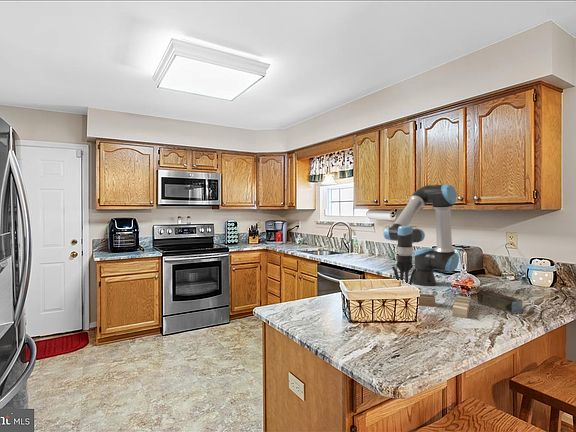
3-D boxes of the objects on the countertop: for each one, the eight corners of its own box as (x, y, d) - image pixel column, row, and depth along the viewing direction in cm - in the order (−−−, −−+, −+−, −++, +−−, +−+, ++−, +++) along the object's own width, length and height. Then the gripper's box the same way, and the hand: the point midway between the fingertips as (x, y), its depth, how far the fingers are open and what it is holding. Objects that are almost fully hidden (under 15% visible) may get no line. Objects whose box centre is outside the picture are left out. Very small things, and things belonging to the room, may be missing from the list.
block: (412, 301, 181) (412, 293, 181) (432, 303, 179) (432, 294, 178) (414, 305, 174) (414, 296, 174) (435, 306, 172) (435, 298, 172)
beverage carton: (511, 313, 161) (512, 300, 161) (476, 303, 179) (476, 290, 179) (522, 312, 164) (523, 298, 164) (486, 301, 182) (487, 289, 182)
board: (457, 303, 178) (458, 295, 177) (470, 305, 174) (470, 297, 174) (452, 315, 157) (452, 307, 157) (466, 318, 154) (467, 309, 154)
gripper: (390, 254, 181) (389, 297, 182) (415, 256, 174) (414, 301, 175) (394, 252, 187) (393, 294, 188) (418, 254, 180) (418, 298, 181)
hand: (403, 298), depth 182 cm, fingers closed
